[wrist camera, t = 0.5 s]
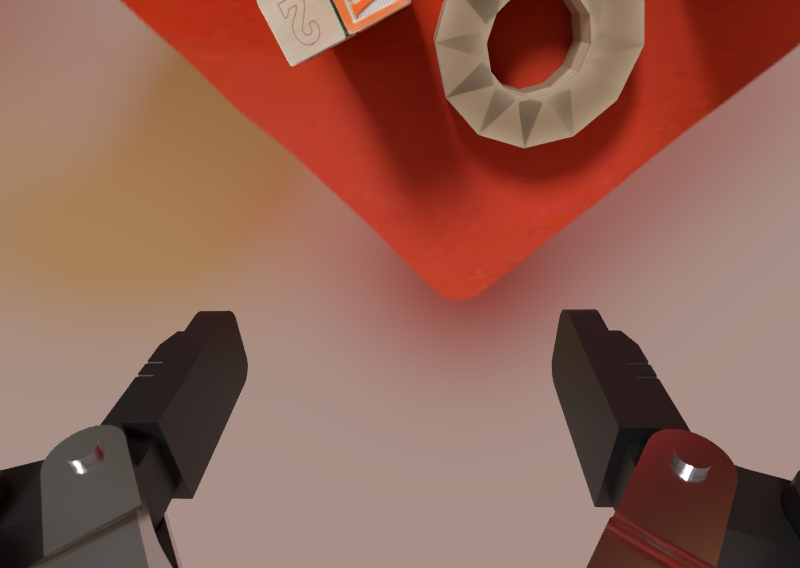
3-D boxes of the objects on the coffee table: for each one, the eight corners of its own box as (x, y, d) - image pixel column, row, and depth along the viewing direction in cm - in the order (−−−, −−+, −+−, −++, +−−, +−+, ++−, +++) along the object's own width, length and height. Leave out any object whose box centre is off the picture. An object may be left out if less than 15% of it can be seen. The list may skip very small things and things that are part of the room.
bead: (471, -102, 28) (479, -116, 24) (655, -37, 29) (686, -42, 26) (414, 104, 34) (414, 116, 30) (568, 150, 35) (584, 166, 32)
